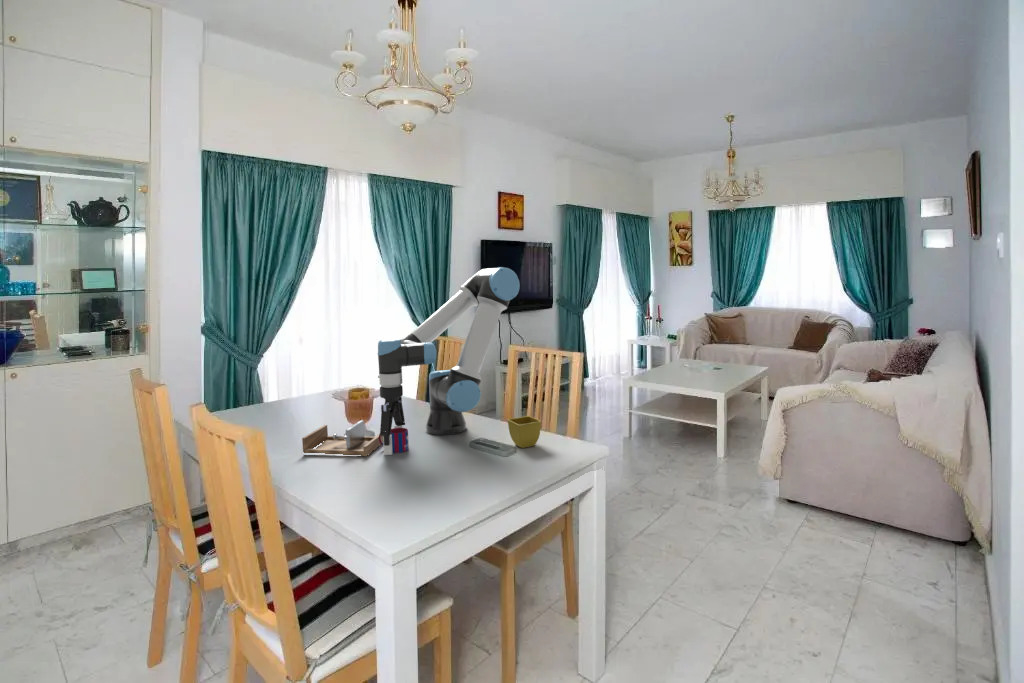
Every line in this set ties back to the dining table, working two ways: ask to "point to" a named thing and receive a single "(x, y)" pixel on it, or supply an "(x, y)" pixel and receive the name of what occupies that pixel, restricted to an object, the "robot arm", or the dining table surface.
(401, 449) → the mug
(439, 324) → the robot arm
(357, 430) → the pusher
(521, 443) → the flower pot
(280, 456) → the dining table surface
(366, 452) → the wooden tray
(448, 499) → the dining table surface
